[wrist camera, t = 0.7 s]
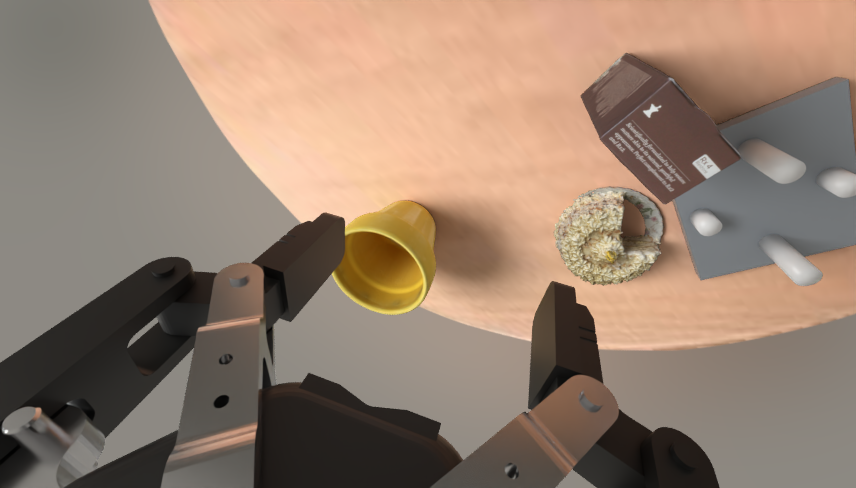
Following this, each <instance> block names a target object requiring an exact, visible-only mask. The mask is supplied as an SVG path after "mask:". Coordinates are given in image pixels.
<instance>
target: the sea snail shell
mask: <svg viewBox="0 0 856 488" xmlns="http://www.w3.org/2000/svg"><path fill="white" fill-rule="evenodd" d="M592 192H594V193H592ZM582 195H583V196H582ZM582 195H581V196H579V197H583V198H579V197H578V199H577V200H575V199H574V201H575V202H574V204H573V205H572V206H569V208H566V210H564V211H565V212H564V211H563V212H564V213H562V215H561V216H560V218H559V222H558V223H556V224H555V228H556V230H555V231H554V236H555V238H556V247H557V248H558V249H559V251H560V255H561V257H562V259H563V260H564V261H565V264H566V265H567V267H568V269H569V270H571V272H572V273H573V274H574V275H575V276H581V278H580V279H583V281H585V282H586V281H589V282H590V283H591V284H592V285H594V284H596V283H597V284H602V285H607V284H611V282H612V283H614V284H618V283H622V282H623V280H624V281H627V282H628V281H629V280H632V279H633V278H636V277H637V276H641V275H642V273H644V271H645V270H650V267H651V266H652V264H653V263H654V262H655V261H656V260H657V257H658V256H659V254H661V252H660V249H659V246H658V244H661V243H660V241H661V236H662V235H663V227H664V225H663V222H662V221H663V218H662V216H661V214H660V210H659V209H657V207H656V205H655V204H654V203H653V202H651V201H650V200H649V198H647V197H646V196H643V195H642V194H640V193H639V192H635V191H633V190H631V189H623V188H620V187H618V188H613V187H607V188H599V189H596V190H591V191H588V192H587V193H585V195H584V194H582ZM624 199H626V200H628V201H629V202H631V203H632V204H634V205H635V206H636V207H637V208H638V209H639V211H640V212H641V214H642V216H643V217H644V221H645V224H646V225H645V226H646V229H645V235H644V236H643V235H640V236H638V237H633V236H631V237H626V236H625V237H624V238H621V235H620V234H622V233H623V232H621V225H622V219H623V214H624V209H625V207H624V206H623V201H624Z"/></svg>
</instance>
